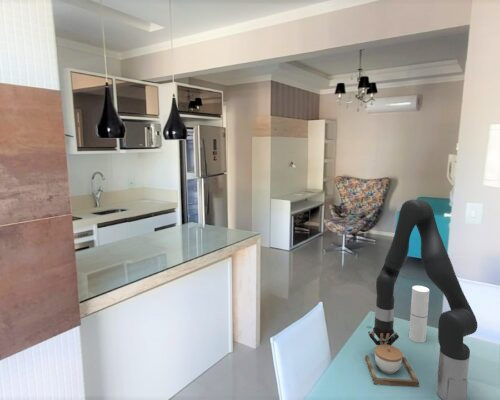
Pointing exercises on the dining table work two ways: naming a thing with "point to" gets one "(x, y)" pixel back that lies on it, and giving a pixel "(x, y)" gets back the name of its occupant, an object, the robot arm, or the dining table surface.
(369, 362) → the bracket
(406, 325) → the dining table surface
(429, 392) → the dining table surface
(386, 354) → the lidded jar
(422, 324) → the cylindrical container
